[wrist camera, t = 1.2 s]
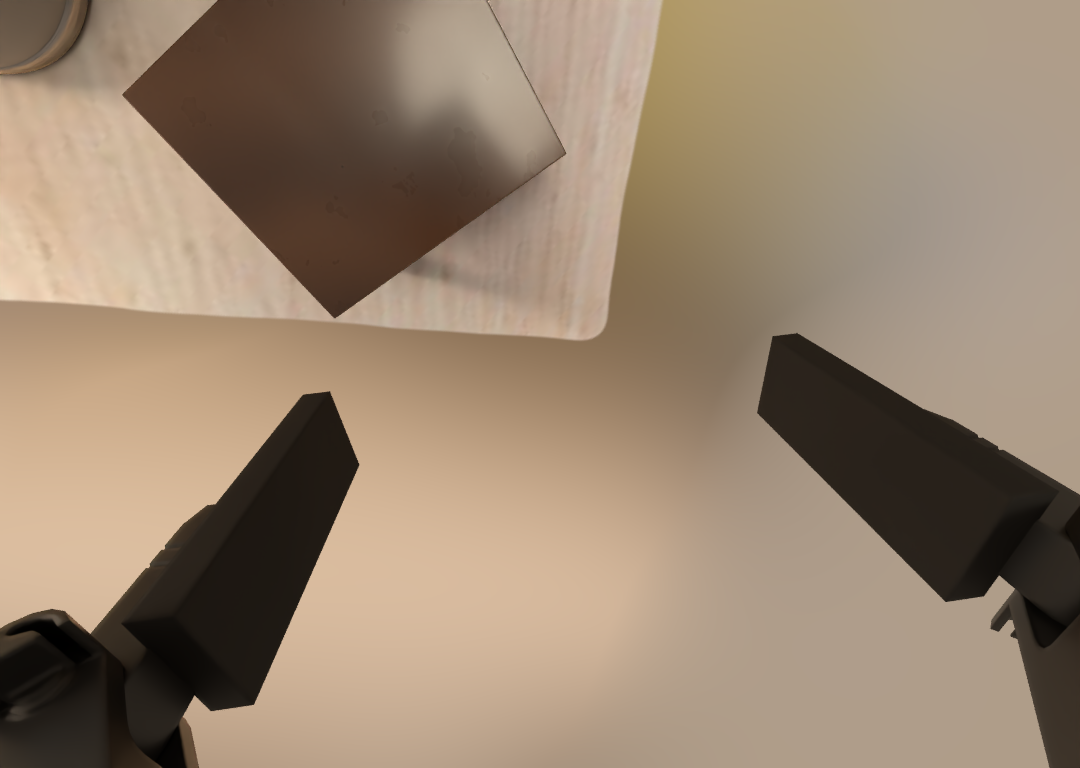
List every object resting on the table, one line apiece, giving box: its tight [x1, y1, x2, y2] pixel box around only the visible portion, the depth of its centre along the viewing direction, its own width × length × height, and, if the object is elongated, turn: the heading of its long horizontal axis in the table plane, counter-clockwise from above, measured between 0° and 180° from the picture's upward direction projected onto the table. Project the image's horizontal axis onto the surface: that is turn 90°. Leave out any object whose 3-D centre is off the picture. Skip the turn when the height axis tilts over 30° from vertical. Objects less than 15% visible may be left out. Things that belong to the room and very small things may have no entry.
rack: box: [122, 0, 566, 318], centre depth 24 cm, size 12×15×12 cm
